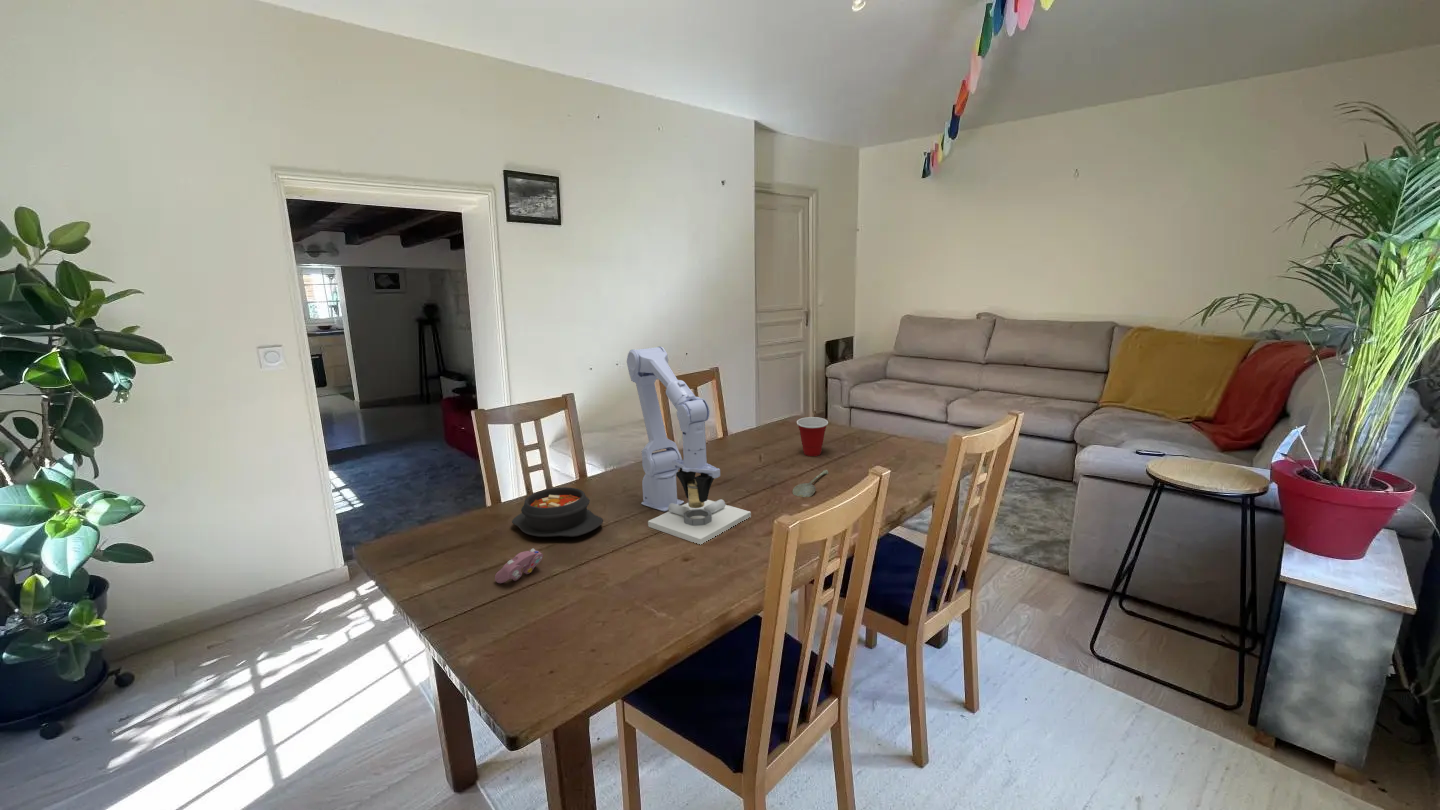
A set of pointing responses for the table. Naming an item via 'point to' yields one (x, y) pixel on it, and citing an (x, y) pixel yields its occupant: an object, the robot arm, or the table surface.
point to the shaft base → (699, 531)
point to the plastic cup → (812, 434)
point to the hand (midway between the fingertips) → (696, 499)
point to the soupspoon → (807, 487)
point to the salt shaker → (693, 495)
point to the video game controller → (519, 566)
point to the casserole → (557, 514)
